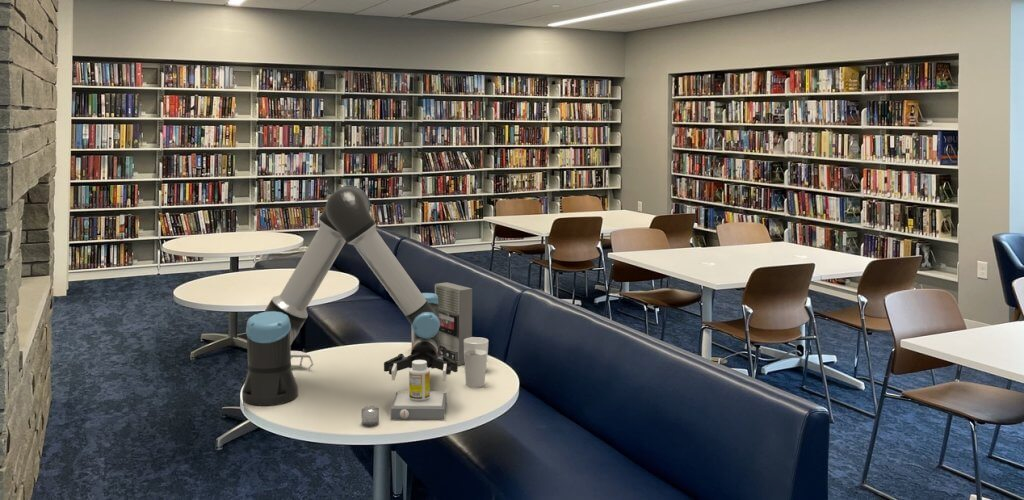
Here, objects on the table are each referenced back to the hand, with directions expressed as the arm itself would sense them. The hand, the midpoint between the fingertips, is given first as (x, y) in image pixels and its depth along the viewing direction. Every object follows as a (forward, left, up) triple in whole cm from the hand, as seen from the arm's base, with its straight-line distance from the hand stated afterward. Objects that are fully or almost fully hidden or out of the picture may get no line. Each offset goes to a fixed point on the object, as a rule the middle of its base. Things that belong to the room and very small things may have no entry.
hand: (418, 375), depth 210 cm
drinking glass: (+15, +26, -11) cm, 32 cm away
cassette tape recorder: (+7, +52, -11) cm, 54 cm away
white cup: (+15, +40, -11) cm, 44 cm away
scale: (0, +3, -11) cm, 11 cm away
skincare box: (-5, +62, -11) cm, 64 cm away
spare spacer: (-12, -6, -11) cm, 17 cm away
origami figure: (-41, +42, -11) cm, 60 cm away
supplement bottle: (0, +3, -8) cm, 8 cm away
